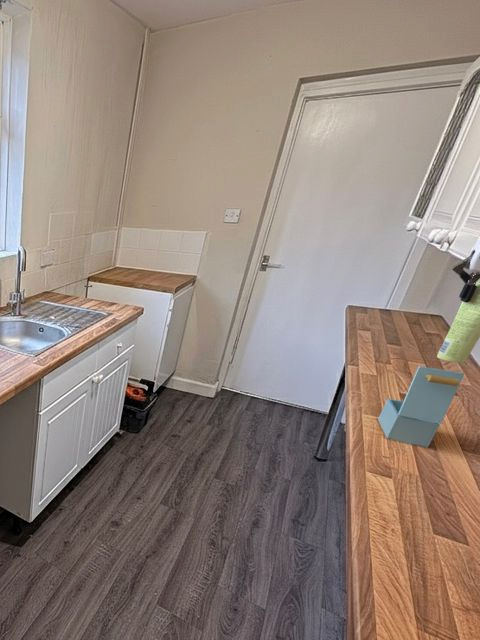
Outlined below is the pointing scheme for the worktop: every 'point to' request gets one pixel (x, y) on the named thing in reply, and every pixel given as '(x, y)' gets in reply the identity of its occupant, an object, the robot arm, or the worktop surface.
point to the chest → (405, 426)
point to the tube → (463, 331)
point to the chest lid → (430, 394)
